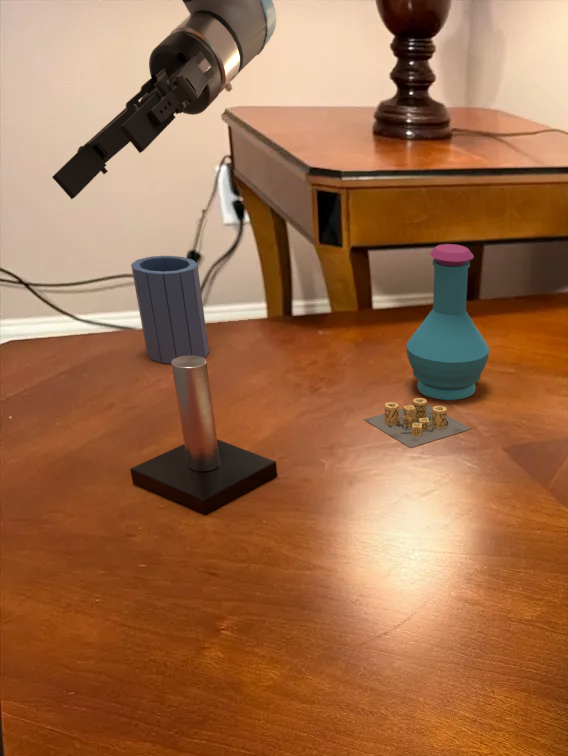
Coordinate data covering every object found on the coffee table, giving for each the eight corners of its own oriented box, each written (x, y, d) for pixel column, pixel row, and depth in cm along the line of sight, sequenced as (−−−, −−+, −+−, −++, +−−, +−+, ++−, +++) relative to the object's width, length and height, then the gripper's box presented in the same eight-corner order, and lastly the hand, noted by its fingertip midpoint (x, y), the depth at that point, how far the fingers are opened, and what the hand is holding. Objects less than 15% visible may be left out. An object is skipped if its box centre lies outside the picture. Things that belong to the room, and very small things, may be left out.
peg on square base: (132, 483, 77) (107, 363, 71) (207, 448, 84) (190, 334, 77) (205, 515, 74) (186, 391, 67) (277, 476, 80) (267, 359, 73)
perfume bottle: (438, 411, 94) (443, 265, 85) (390, 382, 99) (389, 242, 90) (502, 393, 99) (514, 254, 89) (453, 367, 104) (459, 233, 95)
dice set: (381, 421, 91) (381, 404, 90) (420, 410, 94) (420, 393, 92) (411, 439, 88) (411, 421, 87) (449, 427, 91) (450, 410, 90)
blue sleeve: (135, 354, 101) (118, 264, 95) (179, 339, 106) (166, 252, 100) (176, 368, 98) (162, 277, 92) (220, 352, 103) (209, 264, 97)
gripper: (284, 50, 97) (191, 152, 86) (157, 137, 112) (65, 233, 101) (238, -21, 92) (134, 78, 82) (111, 80, 107) (10, 174, 97)
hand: (95, 164), depth 92 cm, fingers open, 13 cm apart
